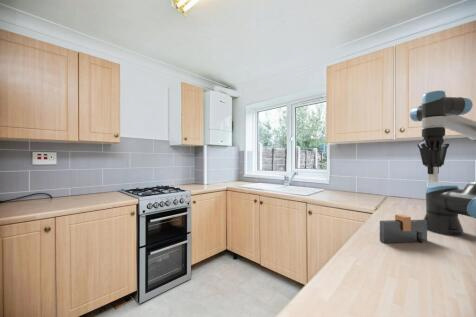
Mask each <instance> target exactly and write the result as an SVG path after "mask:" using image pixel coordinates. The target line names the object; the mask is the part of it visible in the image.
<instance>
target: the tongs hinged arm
mask: <svg viewBox="0 0 476 317" xmlns="http://www.w3.org/2000/svg"><path fill="white" fill-rule="evenodd" d="M383 221H384V222H382V242H381V243H384V244H385V243H414V242H415V243H416V242H417V222H416V221H411V231H403V222H402V221H386V220H383ZM417 243H418V242H417Z"/></svg>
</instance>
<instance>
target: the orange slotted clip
mask: <svg viewBox="0 0 476 317" xmlns="http://www.w3.org/2000/svg"><path fill="white" fill-rule="evenodd" d="M394 220H399V221H402V222H403V231H411V220H412V217H411V216H408V215H405V214H400V213H399V214H394Z"/></svg>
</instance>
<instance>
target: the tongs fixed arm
mask: <svg viewBox="0 0 476 317" xmlns="http://www.w3.org/2000/svg"><path fill="white" fill-rule="evenodd" d="M384 221H399V220H395V219H394V220H392V219H391V220H390V219H389V220H379V242H381V243H383V242H382V222H384ZM411 221H416V222H417V243H419V244H420V243H423V242H426V241H428V230H427V220H423V219H411Z"/></svg>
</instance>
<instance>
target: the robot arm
mask: <svg viewBox="0 0 476 317" xmlns="http://www.w3.org/2000/svg"><path fill="white" fill-rule="evenodd" d="M420 103H421V105H419V106H416V107H414V108H412V109H411V110H410V113H409V117H410V119H411V121H413V122H421V128H422V129H421V137H422V138H423V139H422V142H420V143H417V144H416V146H417V147H418V149H419V153H420V158H421V162H422V165H423V166H424V167H426V168H427V175H428V179H427V180H428V182H430V183H439V172H440V170H439V168H441V167H443V166H444V165H445V161H446V155H447V150H448V148H449V147H450V143H446V142H445V140H444V137H445V136H446V129H447V130H449V131H453V132H456V133H459V134H461V135H463V136H466V137H467V139H469V140H471V141H474V142H476V120H472V119H470V118H467V117H464V115H466V114H468V113H469V112H471V110H472V109H473V105H474V104H473V101H472V99H470V98H468V97H461V96H458V97H454V96H453V97H451V96H447V95H446V91H445V90H433V91H429V92H426V93H423V94H422V97H421V102H420ZM425 190H426V191H425V209H426V210H425V215H424V217H423V219H422V220H427V232H431V233H435V234H440V235H446V236H455V237H458V236H463V235H464V229H463V227H462V224H461V221H460V219H459V215H461V216H466V217H470V218H473V219H476V180H475V181H474V182H469V183H468V182H467V184H466V185H465V186H464V188H463V189H460V188H459V186H458V185H429V186H427V187H426V189H425Z"/></svg>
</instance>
